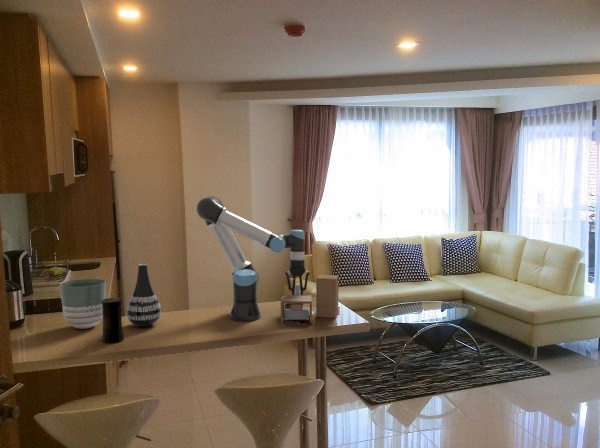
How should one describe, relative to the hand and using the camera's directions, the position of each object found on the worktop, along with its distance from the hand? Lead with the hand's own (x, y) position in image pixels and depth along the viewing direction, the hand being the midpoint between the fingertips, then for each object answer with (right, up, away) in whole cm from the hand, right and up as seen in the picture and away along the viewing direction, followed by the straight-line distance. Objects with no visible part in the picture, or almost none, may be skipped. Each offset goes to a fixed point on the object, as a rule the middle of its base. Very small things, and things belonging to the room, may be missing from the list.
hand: (297, 303), depth 274 cm
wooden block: (+15, -5, -10) cm, 19 cm away
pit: (-1, -6, -28) cm, 28 cm away
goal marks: (0, -4, -5) cm, 6 cm away
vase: (-73, -7, -27) cm, 78 cm away
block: (0, -5, -14) cm, 15 cm away
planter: (-101, -7, -29) cm, 105 cm away
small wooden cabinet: (0, -4, -9) cm, 10 cm away
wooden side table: (0, -5, -17) cm, 18 cm away
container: (-80, -9, -50) cm, 95 cm away
